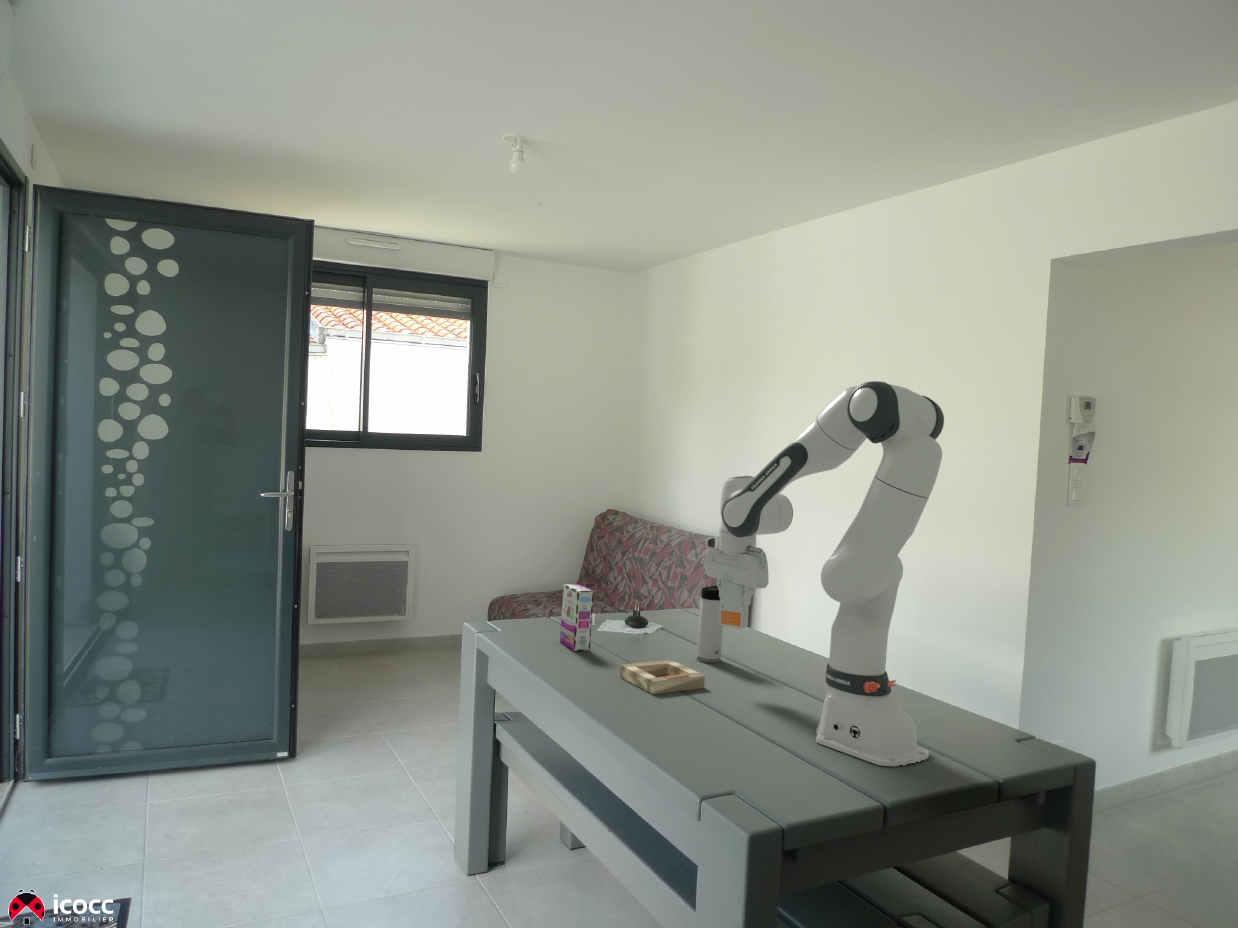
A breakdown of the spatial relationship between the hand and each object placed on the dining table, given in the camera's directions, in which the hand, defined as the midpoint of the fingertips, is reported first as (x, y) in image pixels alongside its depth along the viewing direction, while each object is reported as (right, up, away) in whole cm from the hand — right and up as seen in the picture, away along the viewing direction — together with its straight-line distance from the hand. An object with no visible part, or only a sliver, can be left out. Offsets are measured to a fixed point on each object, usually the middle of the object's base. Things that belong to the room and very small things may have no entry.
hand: (734, 601), depth 204 cm
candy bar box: (-40, -18, +30) cm, 53 cm away
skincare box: (0, -6, 0) cm, 6 cm away
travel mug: (-3, -20, +24) cm, 31 cm away
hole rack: (-17, -20, +1) cm, 26 cm away
